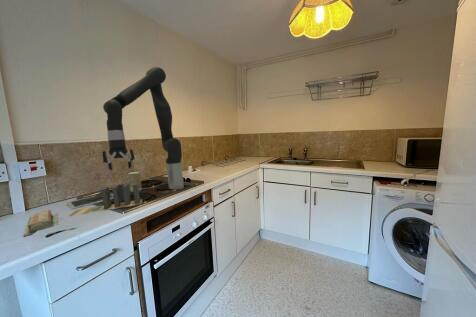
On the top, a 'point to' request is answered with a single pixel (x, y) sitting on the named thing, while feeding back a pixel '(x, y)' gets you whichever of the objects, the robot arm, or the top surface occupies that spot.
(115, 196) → the domino
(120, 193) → the domino
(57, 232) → the chef's knife
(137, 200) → the domino
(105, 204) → the domino
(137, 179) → the skincare box
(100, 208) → the oak board
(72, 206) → the picture frame
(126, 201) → the domino
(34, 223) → the packaged product
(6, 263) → the top surface
